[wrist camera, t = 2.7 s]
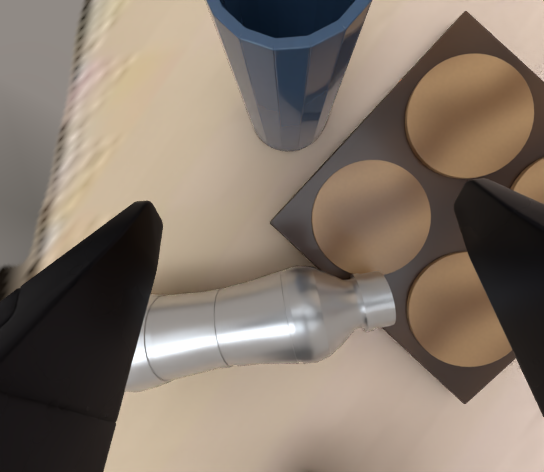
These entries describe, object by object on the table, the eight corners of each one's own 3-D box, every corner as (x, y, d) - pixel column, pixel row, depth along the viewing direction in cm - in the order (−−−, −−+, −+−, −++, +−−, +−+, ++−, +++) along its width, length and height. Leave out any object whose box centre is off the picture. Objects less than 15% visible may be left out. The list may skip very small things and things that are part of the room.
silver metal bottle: (102, 283, 20) (368, 229, 18) (146, 334, 24) (367, 293, 22) (48, 367, 15) (413, 303, 13) (116, 414, 19) (402, 369, 17)
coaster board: (652, 208, 19) (691, 207, 18) (452, 392, 21) (468, 409, 19) (452, 25, 20) (470, 4, 18) (270, 222, 21) (268, 222, 19)
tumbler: (343, 109, 20) (428, -65, 8) (290, 167, 21) (293, 88, 9) (287, 57, 21) (284, -196, 8) (235, 116, 21) (158, -37, 9)
